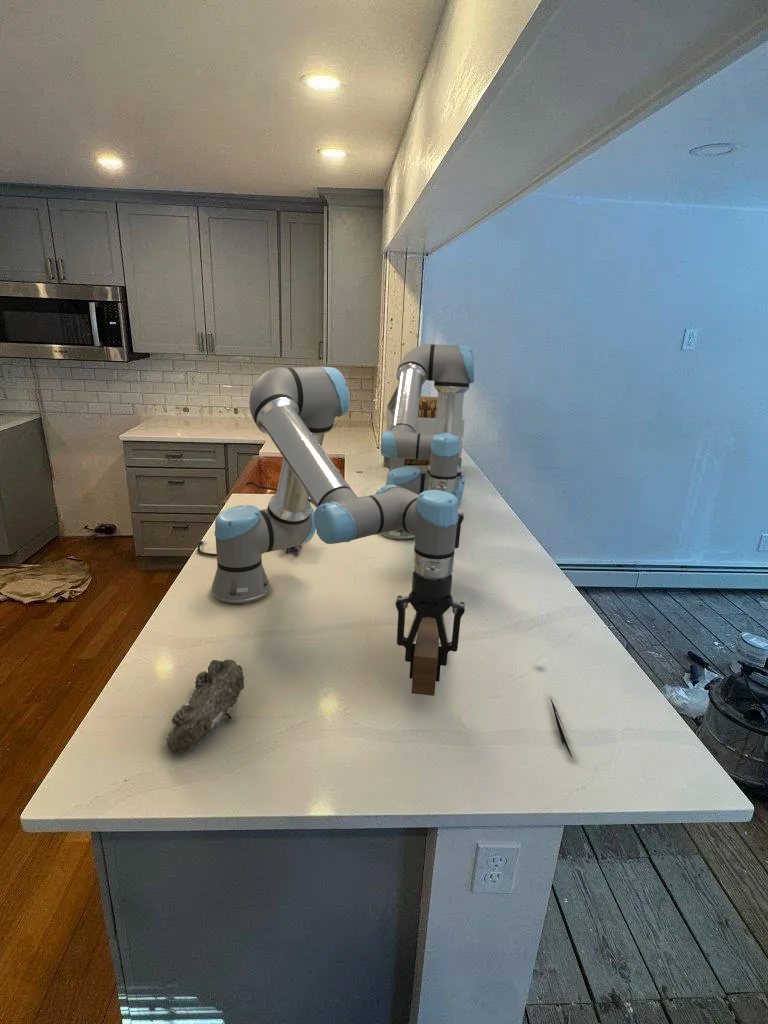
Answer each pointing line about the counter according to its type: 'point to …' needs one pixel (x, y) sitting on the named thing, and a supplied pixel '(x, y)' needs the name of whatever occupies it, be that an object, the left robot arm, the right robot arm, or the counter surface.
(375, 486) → the counter surface
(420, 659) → the post
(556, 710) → the feather
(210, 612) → the counter surface
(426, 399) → the transformer
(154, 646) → the counter surface
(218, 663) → the fossil
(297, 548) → the figurine character
